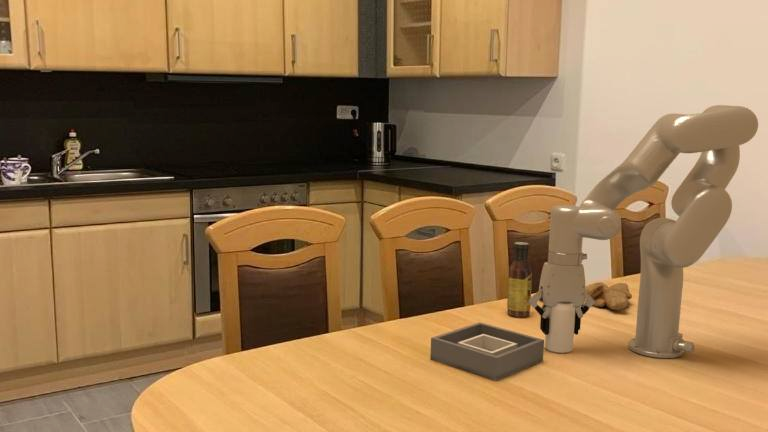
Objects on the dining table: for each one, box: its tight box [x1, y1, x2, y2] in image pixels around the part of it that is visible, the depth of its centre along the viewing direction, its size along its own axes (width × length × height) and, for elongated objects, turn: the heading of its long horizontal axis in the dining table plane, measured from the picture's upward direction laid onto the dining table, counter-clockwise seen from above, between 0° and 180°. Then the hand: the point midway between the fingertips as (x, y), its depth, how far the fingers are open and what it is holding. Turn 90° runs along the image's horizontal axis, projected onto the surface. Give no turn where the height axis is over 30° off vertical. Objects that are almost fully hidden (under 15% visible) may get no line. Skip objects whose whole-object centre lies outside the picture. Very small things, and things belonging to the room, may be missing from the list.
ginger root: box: [585, 281, 633, 311], centre depth 226 cm, size 16×16×8 cm
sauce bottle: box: [506, 241, 533, 318], centre depth 212 cm, size 7×6×20 cm
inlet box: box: [429, 321, 545, 382], centre depth 177 cm, size 18×18×5 cm
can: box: [544, 303, 575, 354], centre depth 185 cm, size 6×6×12 cm
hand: (559, 332), depth 185 cm, fingers closed on can, 6 cm apart
